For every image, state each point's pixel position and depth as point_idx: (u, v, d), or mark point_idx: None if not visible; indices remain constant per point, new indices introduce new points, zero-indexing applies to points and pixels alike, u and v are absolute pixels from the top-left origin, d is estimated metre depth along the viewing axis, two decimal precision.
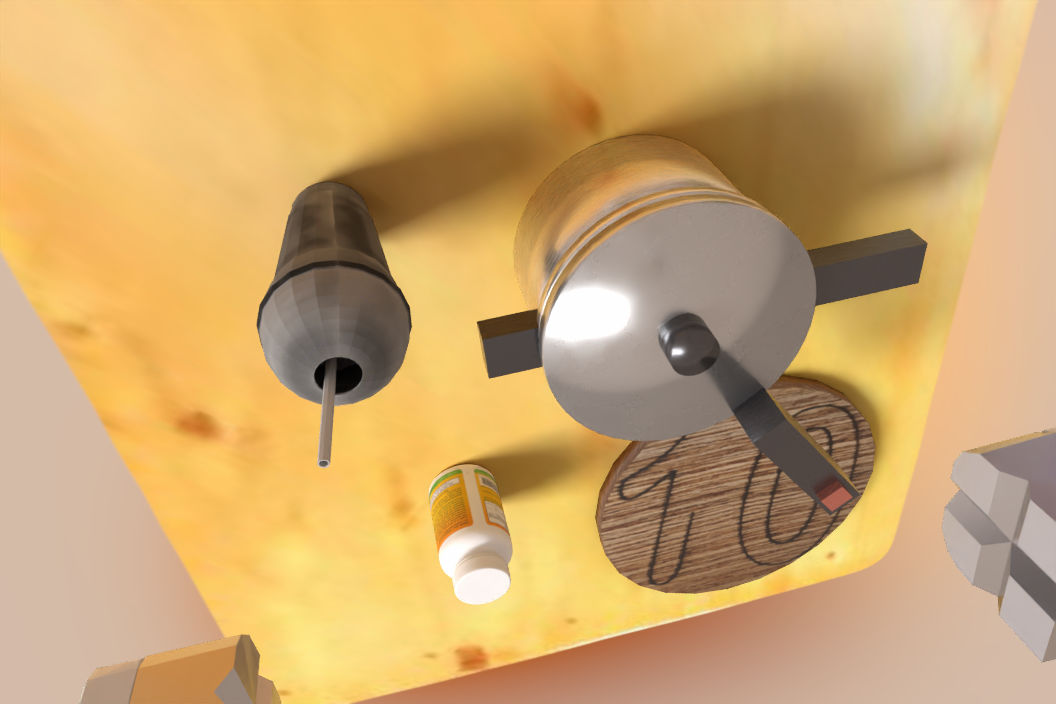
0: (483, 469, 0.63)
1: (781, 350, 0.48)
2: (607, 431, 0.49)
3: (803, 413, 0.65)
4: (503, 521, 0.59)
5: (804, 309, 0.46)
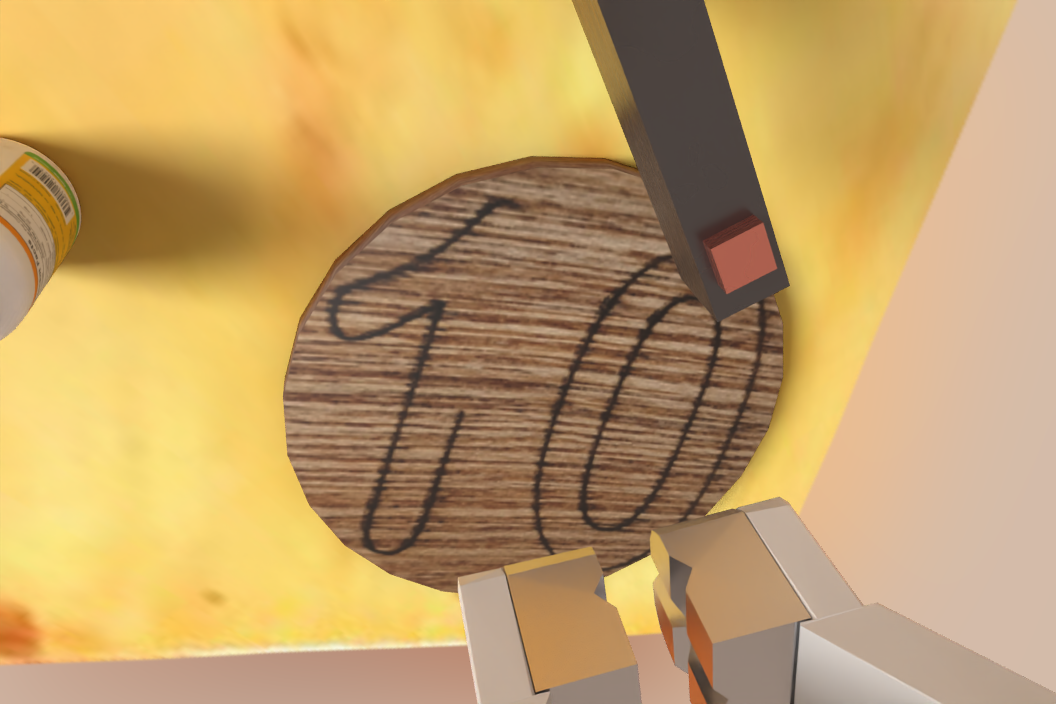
0: (53, 165, 0.31)
1: None
2: None
3: None
4: (32, 234, 0.27)
5: None
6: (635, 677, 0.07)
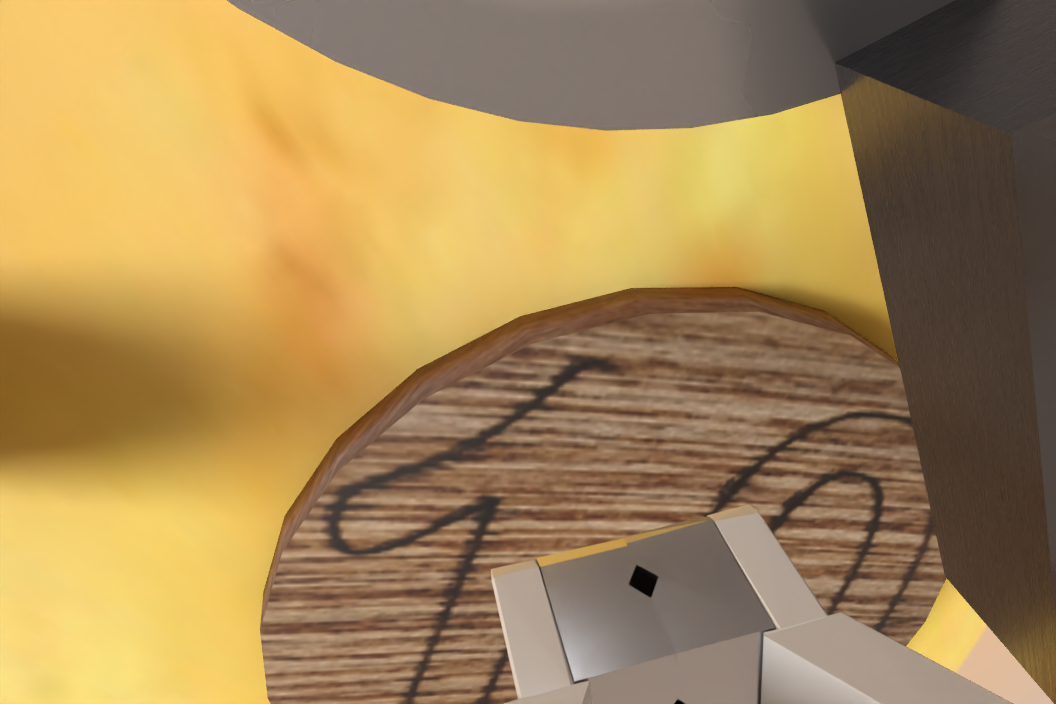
0: None
1: None
2: None
3: (846, 423, 0.25)
4: None
5: None
6: (672, 667, 0.07)
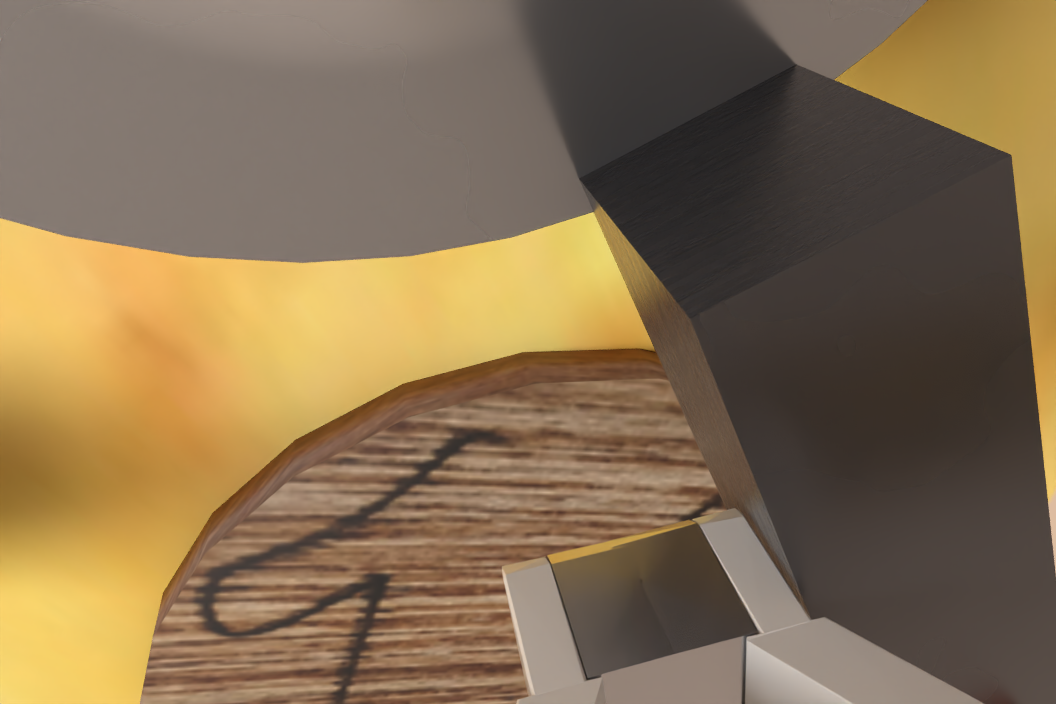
0: None
1: None
2: None
3: None
4: None
5: None
6: (685, 664, 0.07)
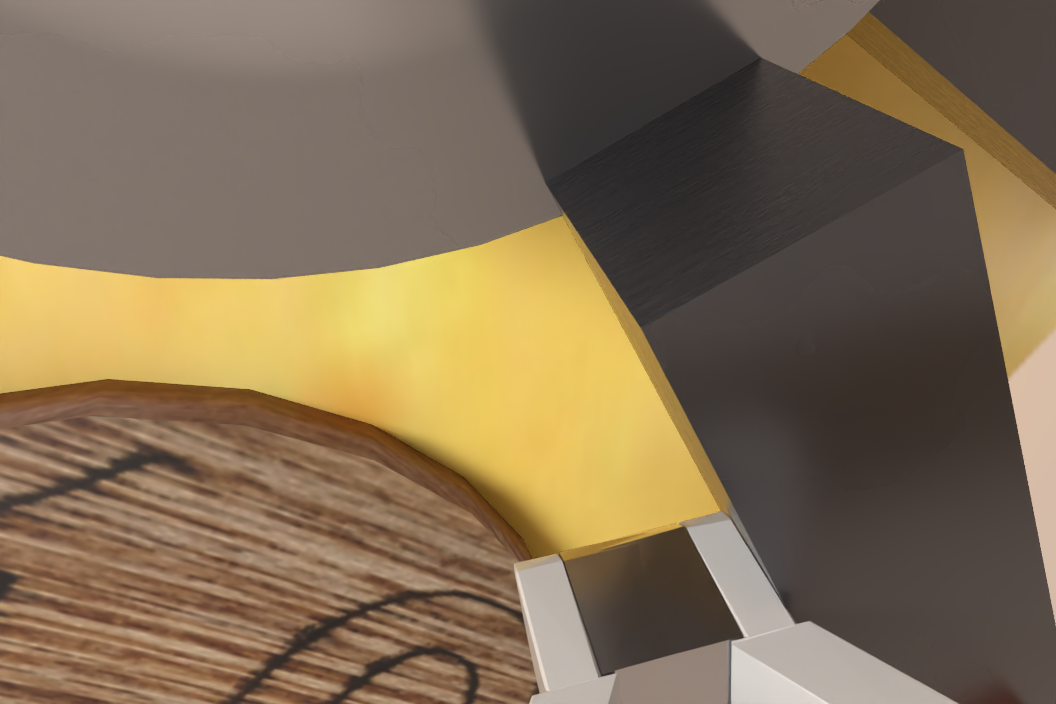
0: None
1: None
2: None
3: (451, 600, 0.24)
4: None
5: None
6: (699, 660, 0.07)
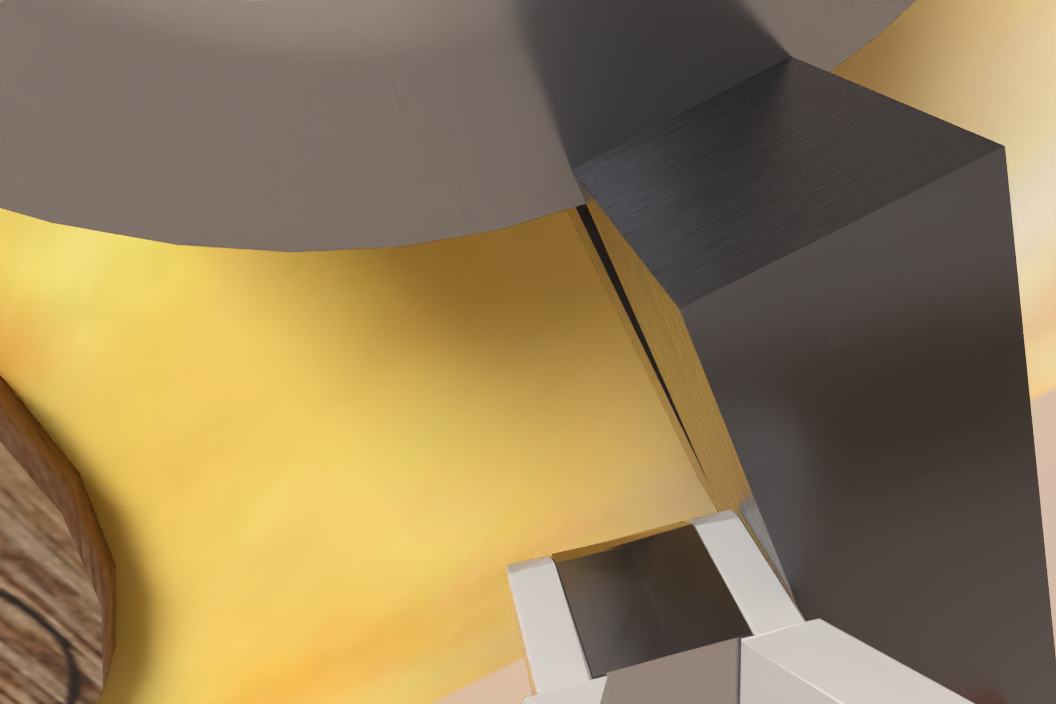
0: None
1: None
2: None
3: None
4: None
5: None
6: (691, 662, 0.07)
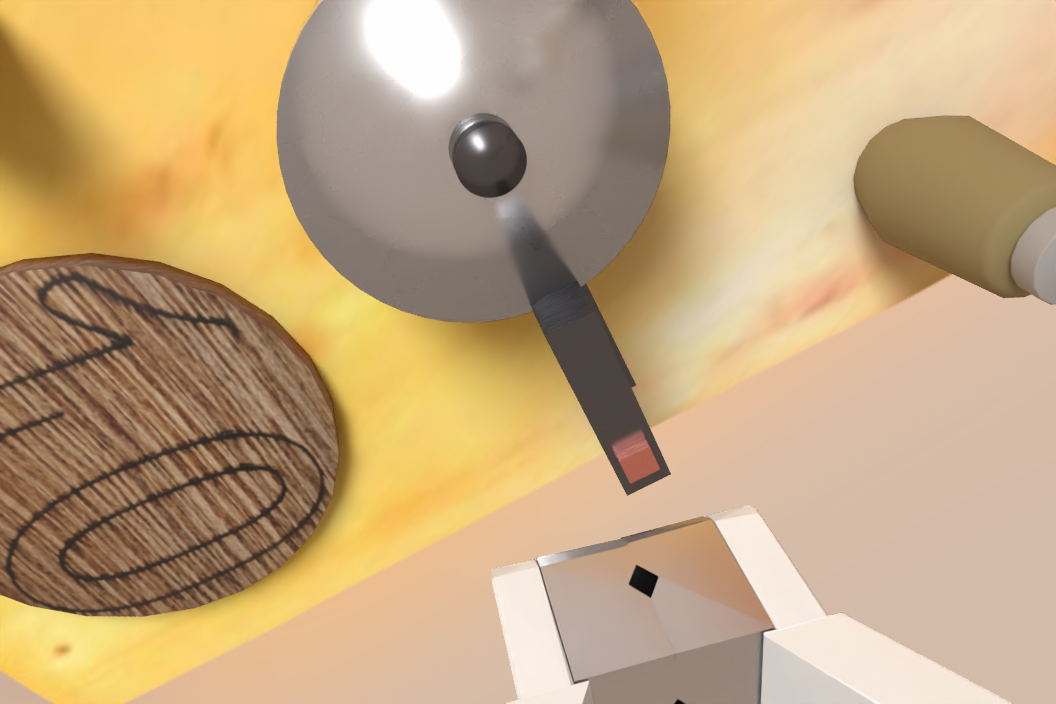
0: None
1: (609, 228, 0.36)
2: (353, 275, 0.34)
3: (297, 449, 0.49)
4: None
5: (648, 172, 0.35)
6: (672, 667, 0.07)
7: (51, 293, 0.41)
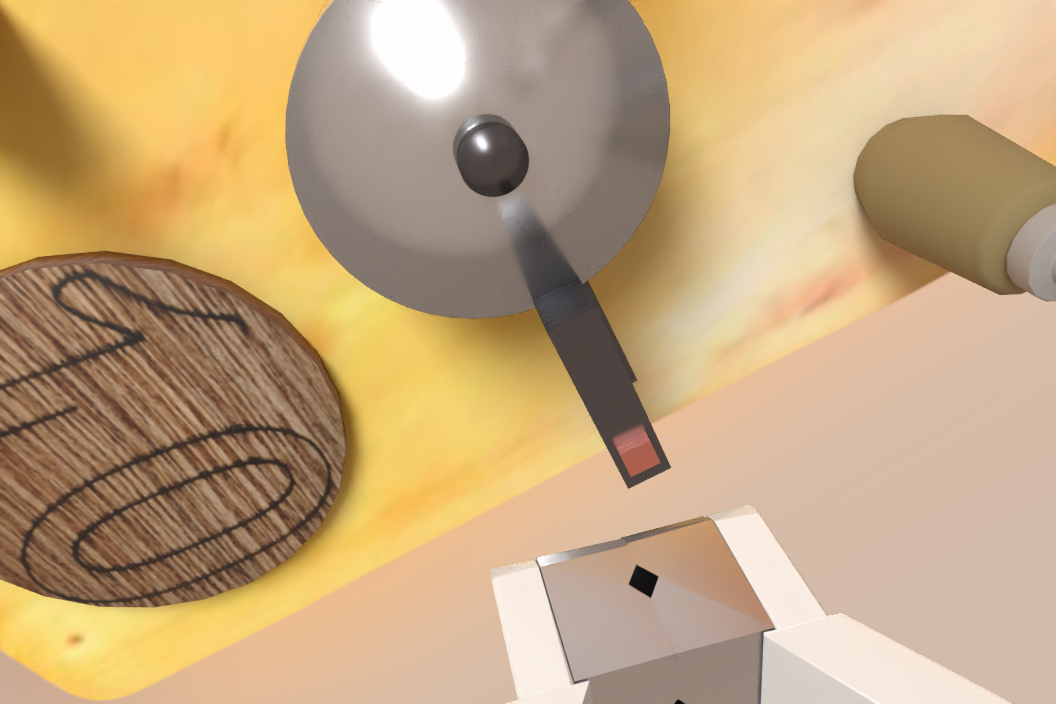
0: None
1: (610, 227, 0.37)
2: (360, 272, 0.35)
3: (305, 443, 0.50)
4: None
5: (648, 171, 0.36)
6: (672, 667, 0.07)
7: (65, 290, 0.42)
